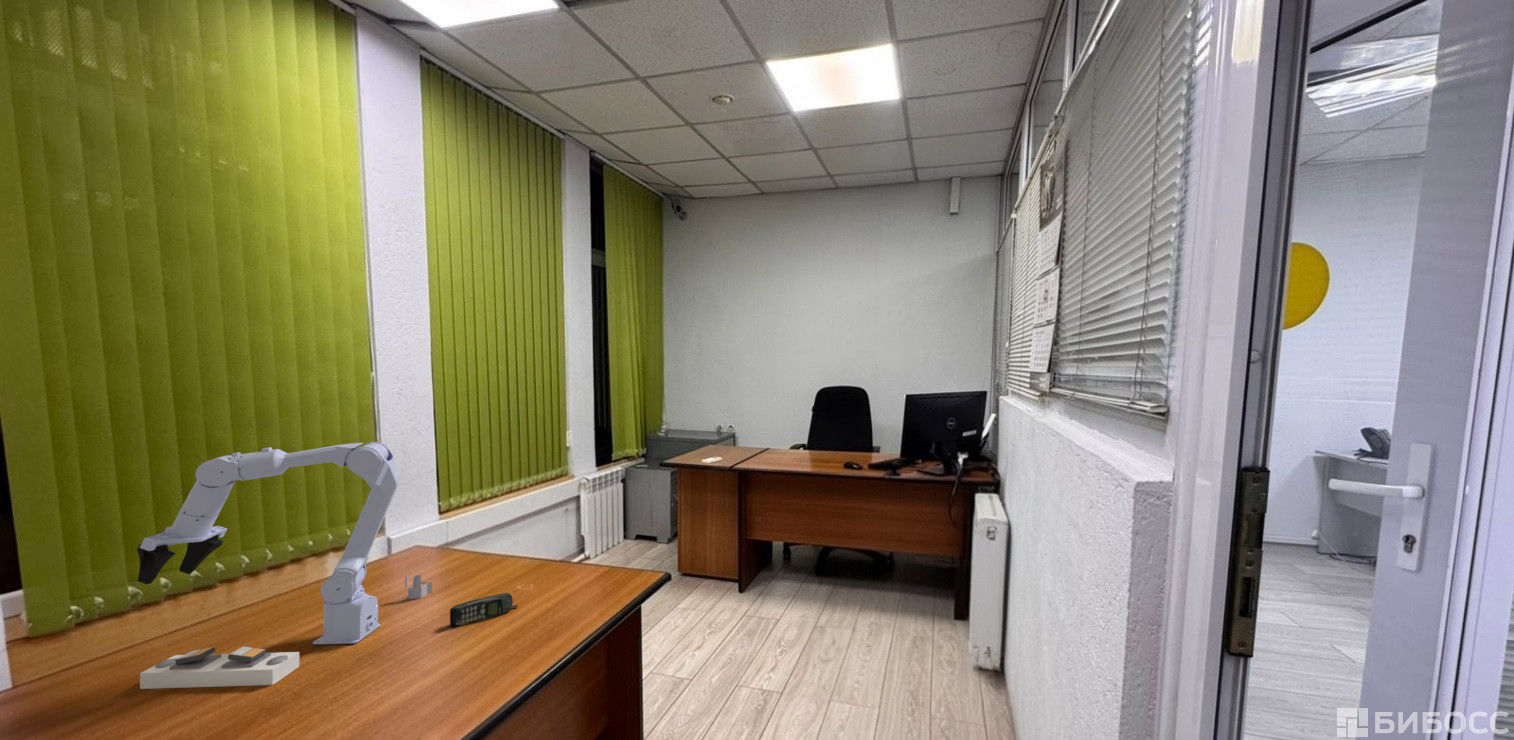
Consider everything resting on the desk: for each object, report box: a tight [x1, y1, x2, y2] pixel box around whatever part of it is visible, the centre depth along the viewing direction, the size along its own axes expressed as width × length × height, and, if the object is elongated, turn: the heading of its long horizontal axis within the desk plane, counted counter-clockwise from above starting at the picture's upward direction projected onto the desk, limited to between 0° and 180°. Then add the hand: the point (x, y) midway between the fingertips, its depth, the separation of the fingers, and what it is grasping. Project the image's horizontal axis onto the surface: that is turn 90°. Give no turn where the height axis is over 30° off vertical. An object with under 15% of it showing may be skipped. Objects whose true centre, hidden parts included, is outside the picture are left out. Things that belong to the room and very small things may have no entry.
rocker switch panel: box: [139, 651, 300, 690], centre depth 98 cm, size 24×6×4 cm, turn 93°
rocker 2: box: [228, 645, 267, 662], centre depth 99 cm, size 4×3×1 cm
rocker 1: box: [175, 646, 216, 664], centre depth 98 cm, size 4×3×1 cm
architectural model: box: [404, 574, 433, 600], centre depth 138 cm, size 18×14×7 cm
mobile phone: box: [449, 592, 518, 628], centre depth 123 cm, size 5×3×15 cm
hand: (165, 577), depth 101 cm, fingers open, 7 cm apart
